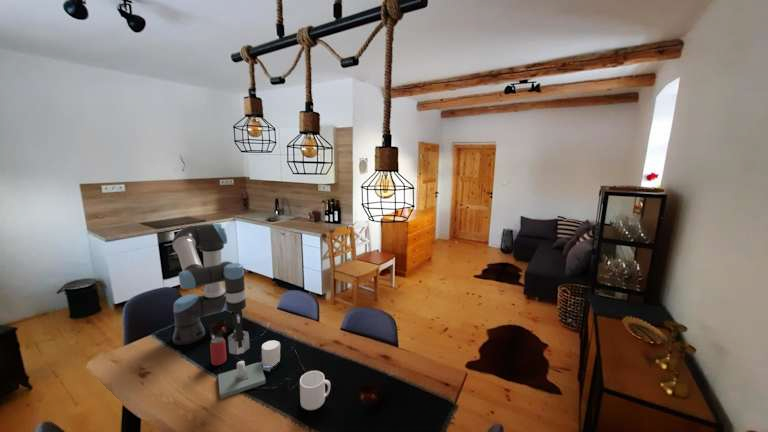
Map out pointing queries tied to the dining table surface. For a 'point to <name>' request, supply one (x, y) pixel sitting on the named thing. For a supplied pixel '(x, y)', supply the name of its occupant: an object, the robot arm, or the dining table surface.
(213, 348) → the beer can
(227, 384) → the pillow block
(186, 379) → the dining table surface
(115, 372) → the dining table surface
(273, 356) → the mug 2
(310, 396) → the mug
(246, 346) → the ring
